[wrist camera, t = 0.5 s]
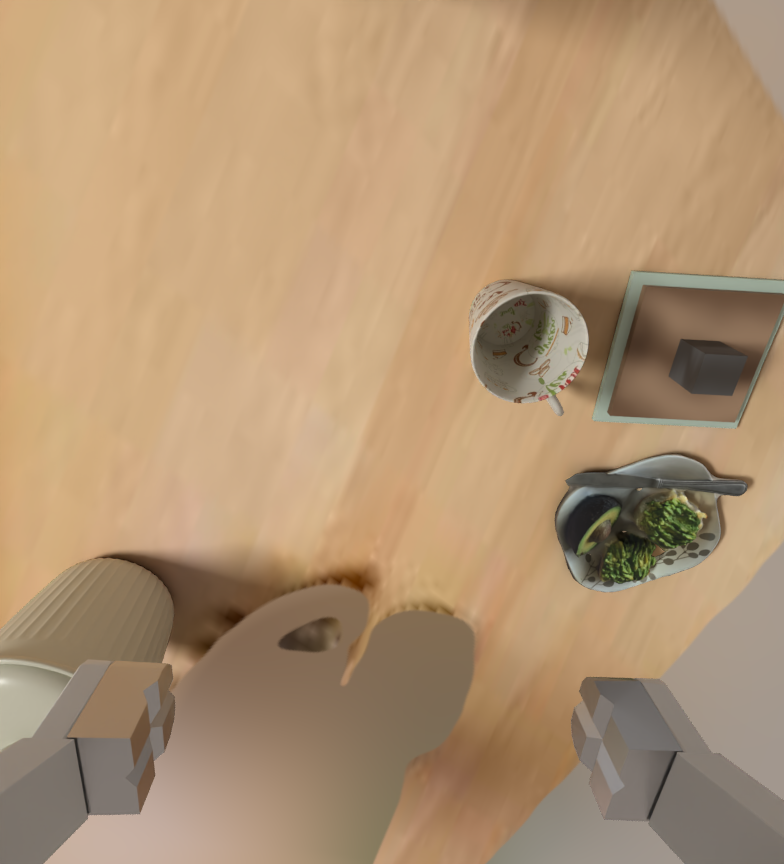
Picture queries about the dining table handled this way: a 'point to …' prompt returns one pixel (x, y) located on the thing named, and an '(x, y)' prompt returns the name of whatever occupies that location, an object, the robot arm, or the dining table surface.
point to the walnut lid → (693, 352)
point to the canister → (77, 636)
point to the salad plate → (640, 521)
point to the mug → (526, 342)
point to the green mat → (626, 320)
